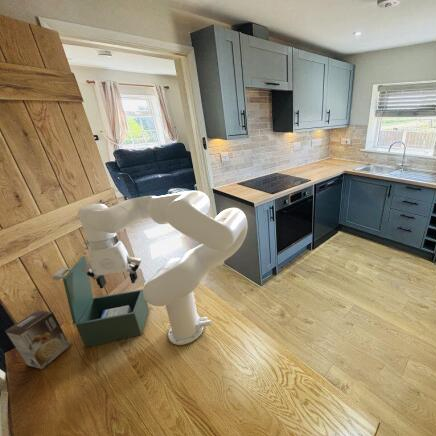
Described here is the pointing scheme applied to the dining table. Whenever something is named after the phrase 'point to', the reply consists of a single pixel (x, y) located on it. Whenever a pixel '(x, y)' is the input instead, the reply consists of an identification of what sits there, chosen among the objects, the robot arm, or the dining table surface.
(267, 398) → the dining table surface
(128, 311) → the medicine box
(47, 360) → the coffee box
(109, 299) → the green box
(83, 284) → the box lid
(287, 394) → the dining table surface
